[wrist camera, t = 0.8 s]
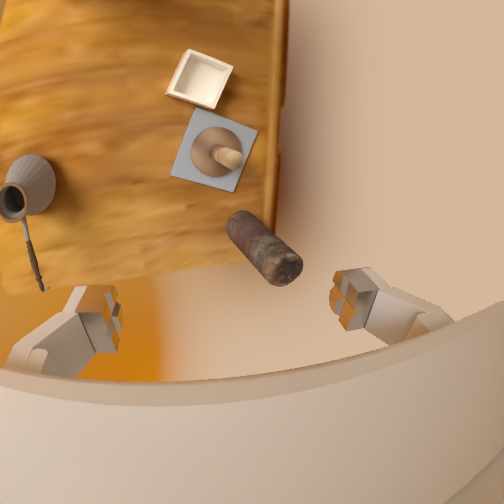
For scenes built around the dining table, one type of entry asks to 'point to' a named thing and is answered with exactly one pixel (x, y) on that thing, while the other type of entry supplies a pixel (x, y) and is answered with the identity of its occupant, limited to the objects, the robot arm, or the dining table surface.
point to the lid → (216, 152)
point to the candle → (264, 249)
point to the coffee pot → (27, 196)
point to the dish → (199, 79)
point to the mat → (196, 125)
